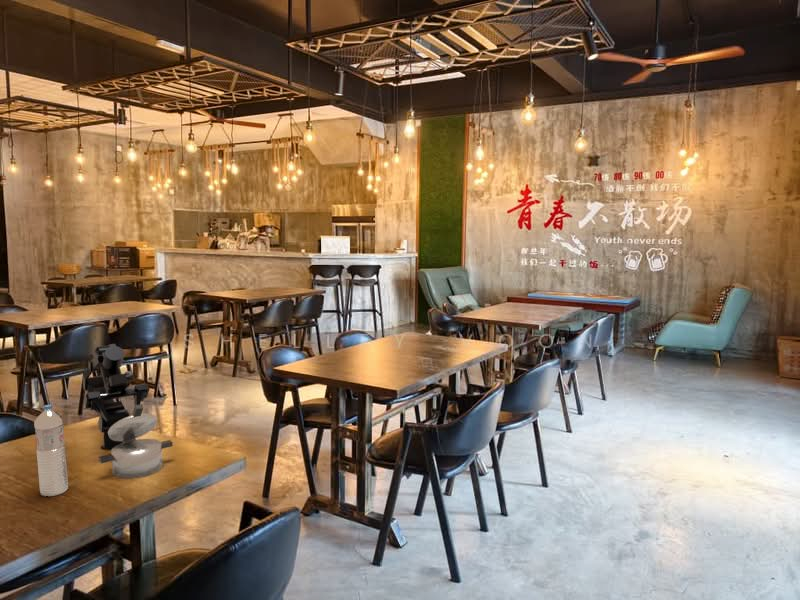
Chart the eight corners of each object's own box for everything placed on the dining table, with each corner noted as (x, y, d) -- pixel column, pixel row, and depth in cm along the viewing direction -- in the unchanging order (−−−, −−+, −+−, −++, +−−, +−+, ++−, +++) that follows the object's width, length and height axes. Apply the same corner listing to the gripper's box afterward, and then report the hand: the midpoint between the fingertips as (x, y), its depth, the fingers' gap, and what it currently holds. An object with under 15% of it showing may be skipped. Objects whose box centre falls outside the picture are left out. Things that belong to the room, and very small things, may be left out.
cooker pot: (94, 469, 175) (92, 447, 174) (163, 452, 189) (162, 431, 188) (107, 485, 164) (105, 462, 163) (180, 466, 177) (178, 444, 176)
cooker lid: (105, 445, 176) (104, 440, 176) (152, 434, 185) (151, 430, 186) (114, 414, 164) (113, 409, 165) (164, 404, 173) (162, 400, 174)
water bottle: (58, 497, 157) (51, 409, 154) (34, 497, 157) (27, 409, 154) (73, 486, 163) (67, 402, 161) (50, 486, 164) (43, 402, 161)
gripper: (83, 368, 179) (93, 410, 172) (146, 359, 190) (157, 399, 183) (80, 387, 186) (89, 429, 179) (140, 378, 197) (152, 416, 190)
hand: (123, 417), depth 183 cm, fingers open, 9 cm apart
